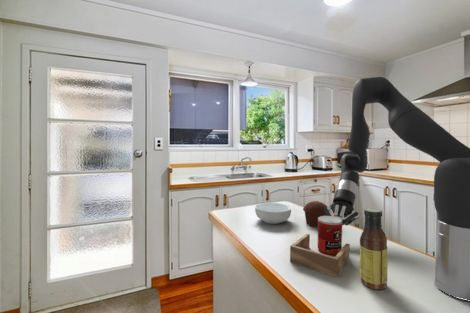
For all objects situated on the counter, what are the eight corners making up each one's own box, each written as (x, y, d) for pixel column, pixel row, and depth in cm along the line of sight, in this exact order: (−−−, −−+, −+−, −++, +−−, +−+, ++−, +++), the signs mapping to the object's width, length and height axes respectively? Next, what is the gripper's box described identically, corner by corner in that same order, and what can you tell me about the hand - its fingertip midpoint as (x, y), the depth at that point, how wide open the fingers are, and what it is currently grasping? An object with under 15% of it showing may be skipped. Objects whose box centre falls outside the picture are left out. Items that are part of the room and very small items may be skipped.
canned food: (327, 257, 78) (327, 223, 77) (312, 247, 85) (313, 216, 85) (346, 254, 80) (347, 221, 79) (331, 244, 87) (331, 214, 87)
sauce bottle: (377, 277, 66) (379, 206, 65) (392, 291, 60) (395, 212, 59) (353, 277, 66) (355, 206, 65) (367, 291, 60) (369, 213, 59)
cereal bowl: (294, 227, 105) (294, 211, 104) (256, 227, 105) (256, 211, 105) (287, 216, 122) (287, 202, 121) (254, 215, 122) (254, 202, 121)
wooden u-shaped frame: (306, 247, 85) (306, 233, 85) (349, 259, 76) (349, 244, 76) (290, 261, 75) (290, 245, 75) (336, 277, 66) (337, 259, 66)
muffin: (318, 218, 117) (318, 198, 116) (335, 226, 107) (335, 203, 106) (297, 221, 113) (297, 200, 112) (313, 229, 102) (313, 206, 102)
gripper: (326, 186, 98) (314, 223, 89) (362, 190, 89) (353, 232, 81) (330, 197, 102) (319, 233, 93) (365, 201, 94) (356, 242, 85)
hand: (335, 232), depth 87 cm, fingers closed
